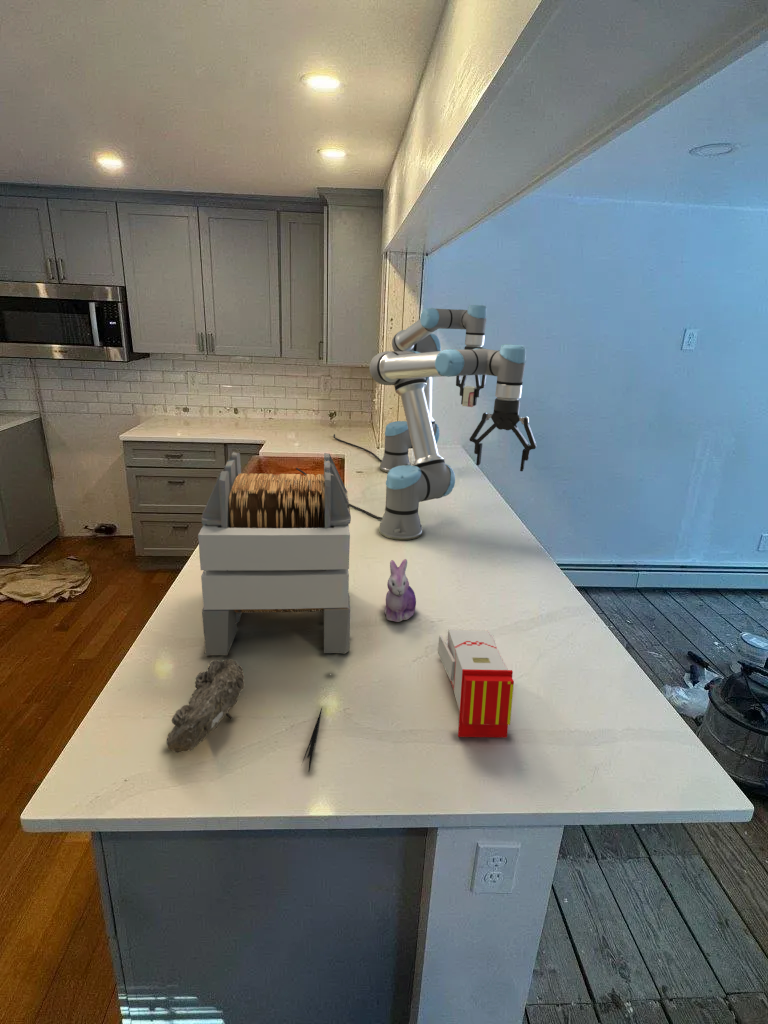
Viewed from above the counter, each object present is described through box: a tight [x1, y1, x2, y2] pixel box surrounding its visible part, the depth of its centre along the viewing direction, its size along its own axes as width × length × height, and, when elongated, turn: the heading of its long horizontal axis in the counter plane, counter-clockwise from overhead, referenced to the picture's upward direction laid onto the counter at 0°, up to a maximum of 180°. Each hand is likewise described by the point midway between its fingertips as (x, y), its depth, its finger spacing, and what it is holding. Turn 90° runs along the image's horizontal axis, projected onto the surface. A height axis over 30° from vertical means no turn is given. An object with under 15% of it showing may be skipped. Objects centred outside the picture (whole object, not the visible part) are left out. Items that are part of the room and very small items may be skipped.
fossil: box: [166, 658, 245, 754], centre depth 106 cm, size 22×10×15 cm
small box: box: [461, 385, 476, 408], centre depth 234 cm, size 5×4×8 cm
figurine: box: [384, 558, 417, 623], centre depth 145 cm, size 9×10×15 cm
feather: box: [301, 673, 332, 771], centre depth 108 cm, size 2×28×2 cm
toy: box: [437, 628, 515, 738], centre depth 117 cm, size 12×13×30 cm
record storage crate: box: [197, 451, 352, 657], centre depth 136 cm, size 34×33×41 cm
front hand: (499, 467), depth 176 cm, fingers open, 13 cm apart
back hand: (468, 404), depth 235 cm, fingers closed on small box, 4 cm apart
